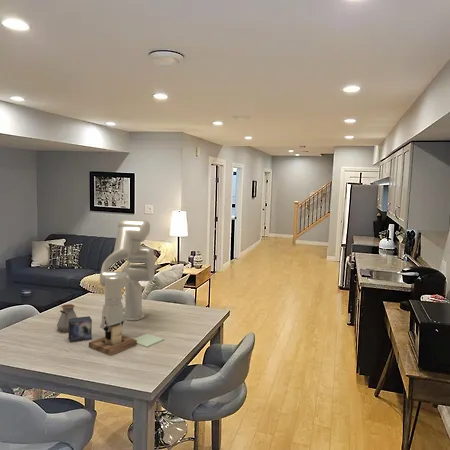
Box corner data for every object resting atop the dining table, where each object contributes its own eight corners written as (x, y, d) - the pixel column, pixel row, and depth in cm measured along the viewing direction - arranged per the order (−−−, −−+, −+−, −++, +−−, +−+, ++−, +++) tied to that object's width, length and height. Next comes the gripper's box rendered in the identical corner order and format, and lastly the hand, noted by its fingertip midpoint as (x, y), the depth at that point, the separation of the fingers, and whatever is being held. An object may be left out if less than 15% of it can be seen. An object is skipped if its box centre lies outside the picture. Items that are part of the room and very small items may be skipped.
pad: (129, 341, 206) (129, 340, 206) (147, 334, 216) (147, 333, 216) (147, 347, 199) (147, 346, 199) (164, 340, 209) (164, 339, 209)
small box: (69, 342, 202) (69, 322, 201) (68, 338, 208) (68, 318, 207) (92, 339, 207) (92, 319, 206) (89, 335, 213) (89, 315, 212)
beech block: (105, 345, 199) (104, 325, 198) (113, 341, 204) (113, 322, 203) (112, 348, 196) (112, 327, 195) (121, 344, 201) (121, 324, 200)
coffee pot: (60, 325, 225) (59, 299, 224) (81, 325, 227) (81, 298, 225) (48, 340, 204) (48, 311, 203) (72, 340, 206) (72, 311, 204)
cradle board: (88, 347, 198) (88, 342, 197) (114, 337, 211) (114, 332, 211) (111, 355, 189) (111, 350, 188) (136, 345, 202) (136, 340, 202)
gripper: (121, 295, 207) (121, 330, 209) (93, 303, 193) (93, 340, 195) (132, 298, 203) (131, 333, 205) (104, 306, 188) (104, 344, 191)
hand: (113, 336), depth 200 cm, fingers closed on beech block, 5 cm apart
